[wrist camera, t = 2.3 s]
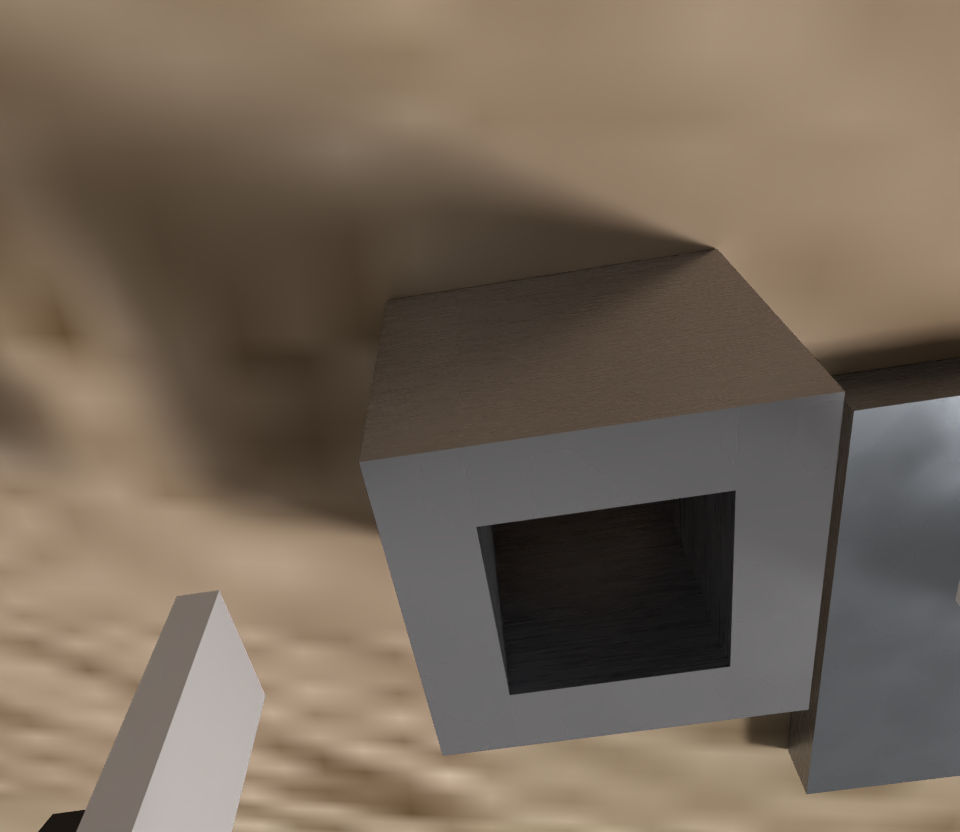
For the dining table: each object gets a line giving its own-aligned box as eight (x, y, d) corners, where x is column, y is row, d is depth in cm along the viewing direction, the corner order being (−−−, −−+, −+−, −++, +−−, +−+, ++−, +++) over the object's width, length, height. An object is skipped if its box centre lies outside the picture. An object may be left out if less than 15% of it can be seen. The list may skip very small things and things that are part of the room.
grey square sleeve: (386, 300, 16) (358, 462, 11) (717, 249, 16) (844, 391, 11) (444, 548, 20) (442, 755, 15) (714, 510, 20) (808, 709, 14)
